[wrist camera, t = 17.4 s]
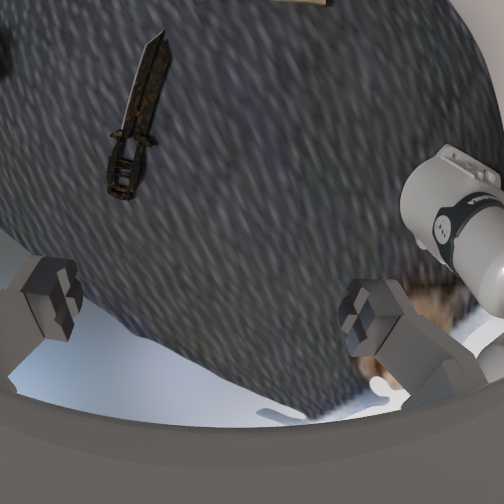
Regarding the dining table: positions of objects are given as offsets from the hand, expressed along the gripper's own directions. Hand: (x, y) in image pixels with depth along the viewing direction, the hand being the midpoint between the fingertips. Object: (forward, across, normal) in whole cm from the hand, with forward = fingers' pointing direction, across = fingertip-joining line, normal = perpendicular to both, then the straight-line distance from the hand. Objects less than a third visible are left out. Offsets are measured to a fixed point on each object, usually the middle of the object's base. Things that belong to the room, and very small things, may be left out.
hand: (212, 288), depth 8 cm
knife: (+36, -12, -2) cm, 37 cm away
